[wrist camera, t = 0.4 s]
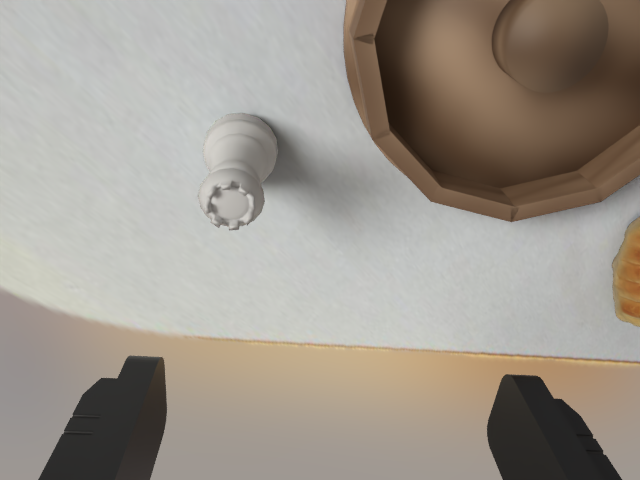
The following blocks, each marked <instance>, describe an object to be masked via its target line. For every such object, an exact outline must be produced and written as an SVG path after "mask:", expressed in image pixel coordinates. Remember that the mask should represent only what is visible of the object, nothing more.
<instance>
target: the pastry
mask: <svg viewBox="0 0 640 480" xmlns="http://www.w3.org/2000/svg"><path fill="white" fill-rule="evenodd" d="M612 268H613V287H612V288H613V299H614V301H615V313H616V316H617V317H618V318H619V319H620V320H622V321H624V322H629V323H631V324H633V325H635V326H638V327H640V217H639V218H637V219H636V220H635V221H633V222H632V223H631V224H630V225H629V226H628V228H627V229H626V231H625V238H624V241H623V243H622V245H621V247H620V249H619V252H618V254H617V255H616V257H615V259H614V261H613V263H612Z"/></svg>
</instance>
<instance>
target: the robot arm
mask: <svg viewBox="0 0 640 480" xmlns="http://www.w3.org/2000/svg"><path fill="white" fill-rule="evenodd" d="M166 414H167V403H166V385H165V367H164V360H163V358H162V357H147V356H129V357H128V358H127V359H126V361H125V363H124V365H123V368H122V370H121V372H120V374H119V376H118V378H117V379H115V378H114V379H113V378H101V379H100V380H99V381H97V382H96V383H95V384H94V385H93V386H92V387H91V388H90V389H89V390H87V391H86V392H85V393H84V394H83V395H82V397H81V399H80V401H79V403H78V405H77V407H76V409H75V411H74V413H73V417H72V418H70V420H69V422H68V424H67V426H66V428H65V430H64V434H62V436H61V437H60V439H59V442H58V443H57V445H56V447H55V449H54V451H53V453H52V455H51V457H50V459H49V460H48V462H47V464H46V466H45V468H44V470H43V472H42V474H41V476H40V478H39V479H38V480H150V477H151V474H152V471H153V467H154V464H155V461H156V458H157V454H158V451H159V447H160V444H161V440H162V437H163V433H164V429H165V423H166ZM487 436H488V442H489V446H490V449H491V452H492V454H493V457H494V459H495V462H496V464H497V466H498V469H499V471H500V474H501V476H502V479H503V480H622V479H621V477H620V476H619V474H618V473H617V471H616V470H615V468H614V467H613V465H612V464H611V462H610V461H609V459H608V457H607V456H606V455H604V454H603V450H602V448H601V447H600V445H599V444H598V442H597V441H596V439H593V434H592V433H591V431H590V430H589V428H588V427H587V425H586V424H585V422H584V421H583V419H582V418H581V416H580V415H579V414H578V413H577V412H575V411H574V410H573V409H572V408H571V407H570V406H569V405H567V404H566V403H565V402H564V401H563V400H562V399H554V398H553V397H552V395H551V393H550V392H549V390H548V388H547V387H546V385H545V383H544V382H543V380H542V379H541V378H540V377H538V376H530V375H508V374H507V375H505V376H504V377H503V378H502V380H501V383H500V386H499V389H498V392H497V395H496V398H495V402H494V404H493V408H492V410H491V414H490V417H489V420H488V425H487Z"/></svg>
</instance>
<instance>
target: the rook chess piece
mask: <svg viewBox="0 0 640 480" xmlns="http://www.w3.org/2000/svg"><path fill="white" fill-rule="evenodd" d="M203 154H204V159H205V164H206V167H207V168H208V170H209V171H210V173H209V175H208V176H207V177H206V178H205V179H204V181H203V182H202V183H201V184H200V189H199V193H198V199H199V203H200V207H201V209H202V210H203V211H204V213H205V214H206V216H207V217H208V218H210V219H211V223H212V224H214V225H215V226H217V227H218V228H219V227H220V225H224V226H228V227H229V230H238V229H239V226H244V225H246V224H247V225H248V224H249V223H250V222H252V221H254V220H255V219H256V218H257V216H258V215H259V214H260V213H261V212H262V209H263V205H264V202H265V200H264V193H263V189H262V187H261V183H262V182H263V181H264V180H265V179H266V178H267V177H268V176H269V175H270V174H271V172H272V171H273V169H274V166H275V163H276V159H277V155H278V146H277V139H276V137H275V135H274V134H273V132H272V130H271V128H270V127H269V126H268V125H267V124H265V123H264V122H263V121H262V120H260V119H259V118H258V117H255V116H251V115H248V114H245V113H237V114H228V115H226V116H224V117H222V118H220V119H218V120H216V121H215V122H214V123H213V125H212V126H211V127H210V129H209V130H208V131H207V133H206V138H205V142H204V149H203Z"/></svg>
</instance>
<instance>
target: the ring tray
mask: <svg viewBox="0 0 640 480" xmlns="http://www.w3.org/2000/svg"><path fill="white" fill-rule="evenodd" d="M344 58H345V65H346V72H347V78H348V82H349V85H350V89H351V93H352V96H353V100H354V103H355V105H356V107H357V110H358V112H359V115H360V117H361V119H362V122H363V124H364V126H365V128H366V129H367V131H368V133H369V134H370V136H371V138H372V140H373V141H374V143H375V144H376V145H377V147H378V148H379V149H380V150H381V151H382V153H383V154H384V155H385V156H386V158H387V159H388V160H389V161H390V162H391V163H392V164H393V165H394V166H396V167H397V168H398V169H399V170H400V171H401V172H402V173H403V174H405V175H406V176H407V177H408V178H409V179H410V180H411V181H412V182H413V183H414V184H415V185H416V186H417V187H418V188H419V189H420V191H421V192H422V193H423V194H424V195H425V196H426V197H427V198H428V199H429V200H430V201H431V202H435V203H439V204H443V205H447V206H450V207H454V208H458V209H462V210H466V211H470V212H474V213H478V214H482V215H486V216H490V217H494V218H498V219H502V220H506V221H510V222H513V221H518V220H522V219H527V218H531V217H536V216H540V215H544V214H549V213H553V212H558V211H562V210H567V209H571V208H575V207H580V206H584V205H589V204H593V203H598V202H601V201H603V200H604V199H605V198H607V197H608V196H610V195H611V194H613V193H614V192H616V191H617V190H618V189H620V188H621V187H623V186H624V185H626V184H627V183H629V182H630V181H631V180H633V179H634V178H636V177H637V176H639V175H640V0H346V8H345V17H344Z"/></svg>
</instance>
